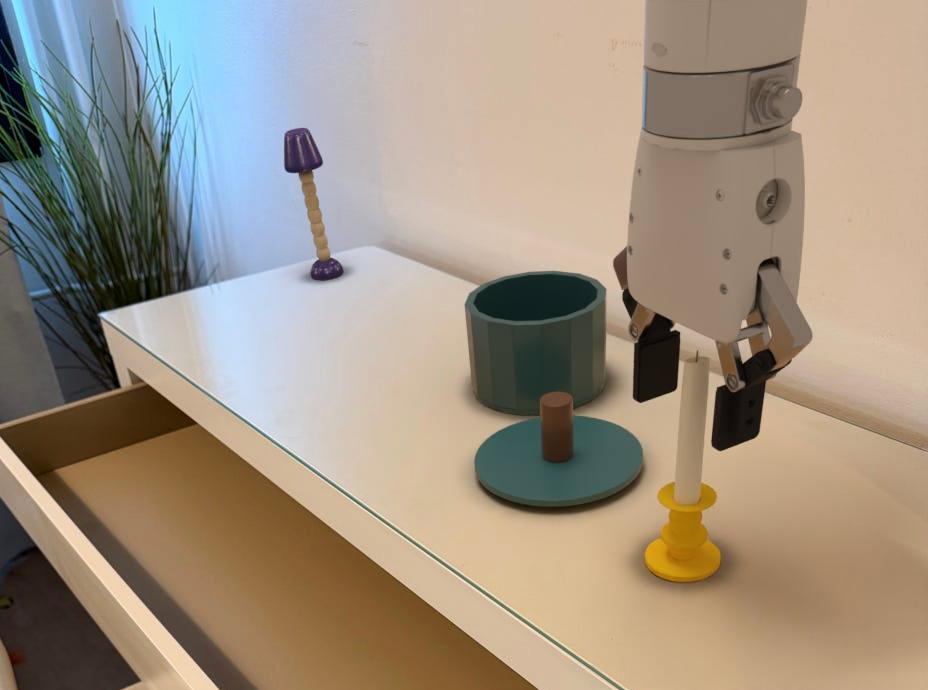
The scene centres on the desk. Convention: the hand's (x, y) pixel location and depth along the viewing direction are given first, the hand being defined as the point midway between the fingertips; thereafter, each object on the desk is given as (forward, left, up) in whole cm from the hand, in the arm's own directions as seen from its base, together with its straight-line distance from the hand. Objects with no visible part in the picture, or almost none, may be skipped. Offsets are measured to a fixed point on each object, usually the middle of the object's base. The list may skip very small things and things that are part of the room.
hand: (693, 416), depth 59 cm
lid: (-8, -14, -11) cm, 19 cm away
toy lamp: (-39, -64, -11) cm, 76 cm away
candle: (0, 0, -11) cm, 11 cm away
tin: (-21, -23, -11) cm, 33 cm away
